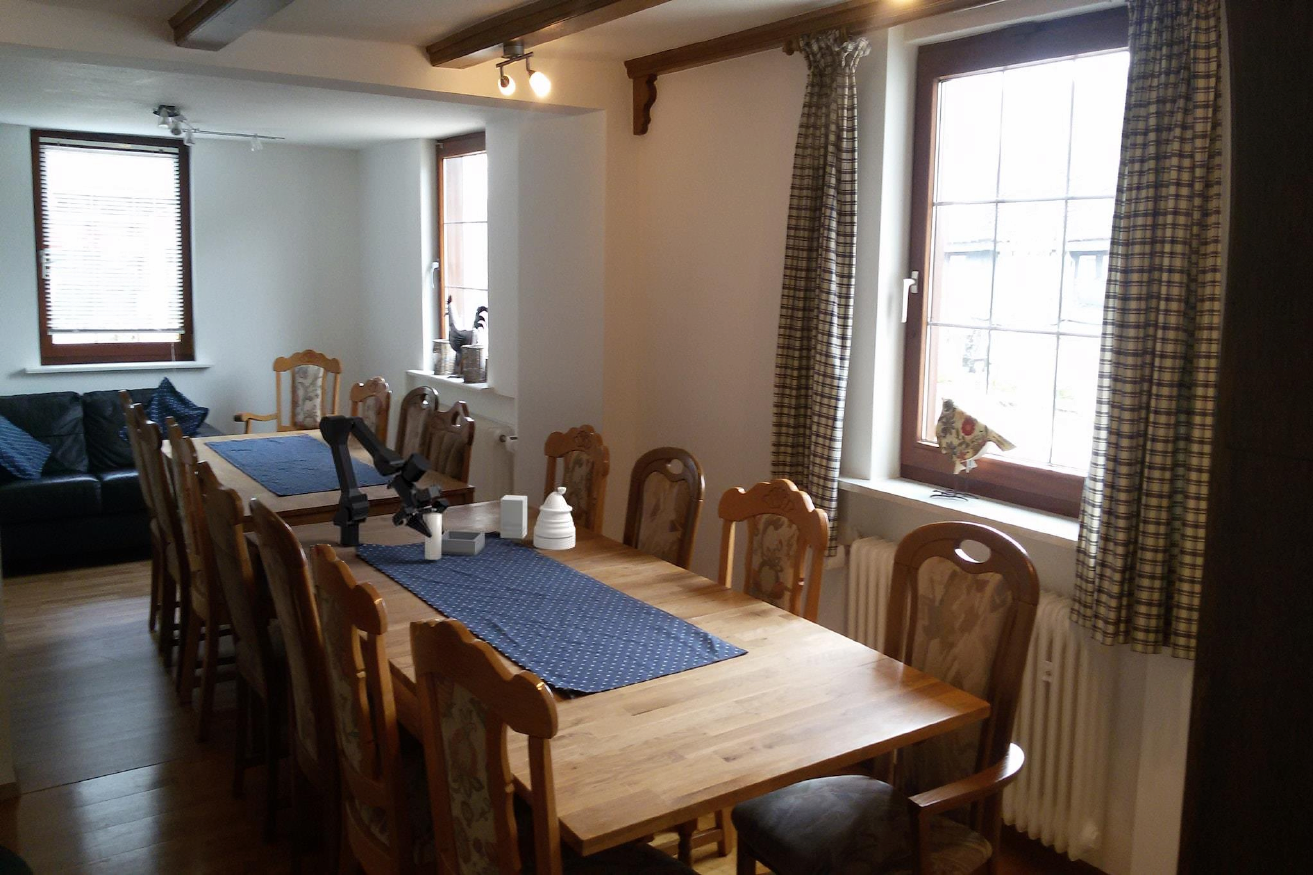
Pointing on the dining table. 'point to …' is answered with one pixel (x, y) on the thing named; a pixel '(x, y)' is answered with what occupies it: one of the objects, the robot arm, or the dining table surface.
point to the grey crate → (462, 542)
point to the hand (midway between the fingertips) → (437, 535)
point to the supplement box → (513, 516)
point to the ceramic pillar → (433, 536)
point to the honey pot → (554, 524)
